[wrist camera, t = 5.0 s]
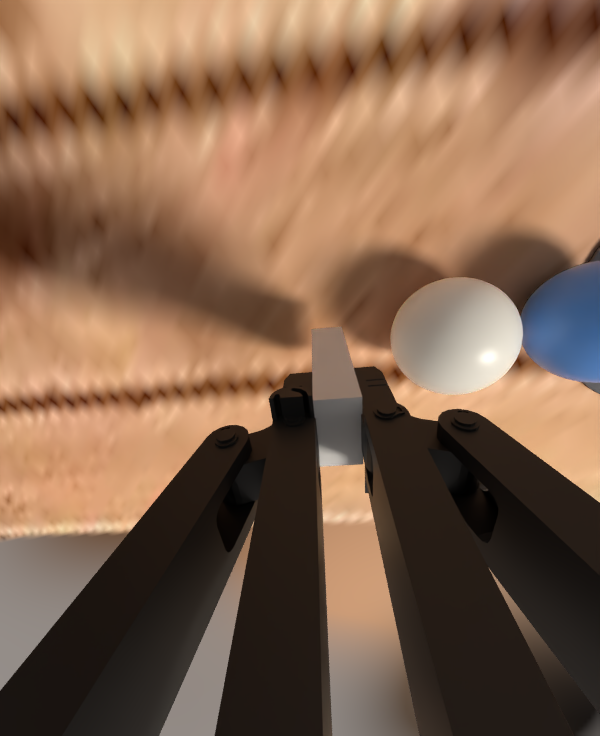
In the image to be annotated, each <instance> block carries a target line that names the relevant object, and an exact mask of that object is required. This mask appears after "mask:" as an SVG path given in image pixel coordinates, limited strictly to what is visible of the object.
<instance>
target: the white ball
mask: <svg viewBox="0 0 600 736" xmlns="http://www.w3.org/2000/svg"><path fill="white" fill-rule="evenodd" d="M522 338H523V326H522V321H521V317H520V315H519V312H518V310H517V308H516V306H515V305H514V303H513V302H512V301H511V299H510V298H509V297H508V296H507V295H506V294H505V293H504V292H503V291H501V290H500V289H499V288H497V287H495V286H494V285H492V284H490V283H487V282H485V281H482V280H479V279H475V278H468V277H452V278H445V279H441V280H437V281H435V282H432V283H429V284H427V285H426V286H424V287H422V288H420V289H419V290H417V291H416V292H415V293H413V294H412V295H411V296H410V297H409V298H408V299H407V300H406V301H405V302H404V303H403V304H402V306H401V307H400V309H399V310H398V312H397V314H396V316H395V319H394V321H393V324H392V329H391V336H390V340H391V349H392V354H393V356H394V359H395V361H396V363H397V365H398V367H399V368H400V370H401V371H402V372H403V373H404V374H405V375H406V376H407V377H408V378H409V379H410V380H411V381H412V382H414V383H415V384H417V385H418V386H420V387H422V388H424V389H426V390H429V391H432V392H435V393H440V394H447V395H460V394H467V393H472V392H475V391H478V390H481V389H483V388H486V387H488V386H490V385H491V384H493V383H495V382H496V381H497V380H499V379H500V378H501V377H502V376H503V375H505V374H506V372H507V371H508V370H509V369H510V368H511V366H512V365H513V363H514V362H515V360H516V359H517V356H518V354H519V352H520V349H521V345H522Z"/></svg>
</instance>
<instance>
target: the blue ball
mask: <svg viewBox="0 0 600 736" xmlns="http://www.w3.org/2000/svg"><path fill="white" fill-rule="evenodd" d="M520 317H521V321H522V326H523V338H522V345H523V347H524V349H525V351H526V353H527V354H528V355H529V356H530V358H531V359H532V360H533V361H534V362H535V363H537V364H538V365H539V366H540V367H542V368H543V369H545V370H547V371H548V372H550V373H552V374H554V375H557V376H560V377H563V378H565V379H570V380H574V381H579V382H591V383H600V261H594V262H589V263H584V264H581V265H577V266H575V267H572V268H570V269H567V270H565V271H562V272H561V273H559V274H557V275H555V276H553V277H552V278H550V279H549V280H547V281H546V282H545V283H543V284H542V285H541V286H540V287H539V288H538V289H537V290H536V291H535V292H534V293H533V294H532V295H531V296H530V298H529V299H528V301H527V302H526V304H525V306H524V308H523V310H522V313H521V316H520Z"/></svg>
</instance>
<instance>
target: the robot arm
mask: <svg viewBox="0 0 600 736" xmlns="http://www.w3.org/2000/svg"><path fill="white" fill-rule="evenodd" d="M269 402H270V408H271V413H272V419H273V423H272V425H271V426H269V427H268V428H266V429H263V430H261V431H258V432H254V433H251V434H248V430H247V429H245V428H244V427H242V426H238V425H229V426H225V427H221V428H219V429H217V430H215V431H213V432H212V433H211V434H210V435H209V436H208V437H207V438H206V439H205V440H204V442H203V443H202V444H201V445H200V446H199V448H198V449H197V450H196V451H195V453H194V454H193V455H192V456H191V458H190V459H189V460H188V461H187V462H186V464H185V465H184V466H183V467H182V469H181V470H180V471H179V472H178V473H177V475H176V476H175V477H174V478H173V480H172V481H171V482H170V483H169V485H168V486H167V487H166V488H165V489H164V491H163V492H162V493H161V494H160V496H159V497H158V498H157V499H156V500H155V502H154V503H153V504H152V505H151V507H150V508H149V509H148V510H147V511H146V513H145V514H144V515H143V516H142V518H141V519H140V520H139V521H138V523H137V524H136V525H135V526H134V527H133V529H132V530H131V531H130V532H129V534H128V535H127V536H126V537H125V538H124V540H123V541H122V542H121V544H120V545H119V546H118V547H117V548H116V550H115V551H114V552H113V553H112V554H111V556H110V557H109V558H108V559H107V561H106V562H105V563H104V564H103V565H102V567H101V568H100V569H99V570H98V572H97V573H96V574H95V575H94V576H93V578H92V579H91V580H90V581H89V583H88V584H87V585H86V586H85V588H84V589H83V590H82V591H81V593H80V594H79V595H78V596H77V597H76V599H75V600H74V601H73V602H72V604H71V605H70V606H69V607H68V608H67V610H66V611H65V612H64V613H63V615H62V616H61V617H60V618H59V619H58V621H57V622H56V623H55V624H54V626H53V627H52V628H51V629H50V630H49V632H48V633H47V634H46V636H45V637H44V638H43V639H42V640H41V642H40V643H39V644H38V646H37V647H36V648H35V649H34V650H33V651H32V653H31V654H30V655H29V656H28V658H27V659H26V660H25V661H24V662H23V664H22V665H21V666H20V667H19V668H18V670H17V671H16V673H14V675H13V676H12V677H11V678H10V680H9V681H8V682H7V683H6V685H5V686H4V687H3V688H2V689H1V691H0V736H159V734H160V732H161V730H162V728H163V725H164V723H165V721H166V719H167V716H168V714H169V712H170V710H171V707H172V705H173V703H174V701H175V698H176V696H177V694H178V691H179V689H180V687H181V685H182V682H183V680H184V678H185V676H186V673H187V671H188V669H189V667H190V664H191V662H192V660H193V657H194V655H195V653H196V651H197V648H198V646H199V644H200V642H201V639H202V637H203V635H204V633H205V630H206V628H207V626H208V624H209V621H210V619H211V617H212V615H213V612H214V610H215V608H216V606H217V603H218V601H219V599H220V596H221V594H222V592H223V590H224V587H225V585H226V583H227V580H228V578H229V576H230V574H231V572H232V569H233V567H234V565H235V563H236V560H237V558H238V556H239V554H240V551H241V549H242V547H243V545H244V542H245V540H246V538H247V536H248V533H249V531H250V529H251V526H252V524H253V522H254V526H253V532H252V537H251V542H250V548H249V553H248V558H247V564H246V569H245V575H244V580H243V585H242V591H241V597H240V602H239V607H238V613H237V618H236V623H235V629H234V635H233V640H232V645H231V650H230V656H229V662H228V667H227V672H226V677H225V683H224V689H223V694H222V699H221V704H220V710H219V716H218V721H217V726H216V732H215V736H332V721H331V720H332V719H331V696H330V673H329V650H328V629H327V605H326V584H325V583H326V582H325V559H324V539H323V538H324V537H323V514H322V491H321V474H320V466H338V465H356V464H363V458H364V462H365V493H369V498H370V502H371V507H372V512H373V517H374V521H375V526H376V531H377V536H378V540H379V545H380V550H381V554H382V559H383V564H384V568H385V574H386V578H387V583H388V588H389V593H390V597H391V602H392V606H393V612H394V616H395V621H396V626H397V630H398V635H399V640H400V645H401V650H402V654H403V659H404V664H405V669H406V673H407V678H408V683H409V687H410V692H411V697H412V702H413V707H414V711H415V716H416V721H417V726H418V731H419V735H420V736H574V734H573V732H572V731H571V728H570V726H569V725H568V723H567V721H566V719H565V717H564V715H563V713H562V711H561V709H560V707H559V706H558V703H557V701H556V699H555V697H554V695H553V693H552V692H551V689H550V687H549V685H548V684H547V682H546V680H545V678H544V676H543V674H542V672H541V670H540V668H539V666H538V664H537V662H536V660H535V658H534V656H533V654H532V652H531V650H530V648H529V646H528V644H527V642H526V640H525V639H524V637H523V635H522V633H521V631H520V629H519V627H518V625H517V623H516V621H515V619H514V617H513V615H512V613H511V611H510V609H509V607H508V605H507V603H506V601H505V599H504V597H503V595H502V593H501V591H500V590H499V588H498V586H497V584H496V582H495V580H494V578H493V576H492V574H491V572H490V570H491V571H492V573H493V574H494V575H495V577H496V578H497V579H498V581H499V582H500V583H501V584H502V586H503V587H504V588H505V590H506V591H507V592H508V594H509V595H510V596H511V598H512V599H513V600H514V602H515V603H516V604H517V606H518V607H519V608H520V610H521V611H522V612H523V613H524V615H525V616H526V617H527V619H528V620H529V621H530V623H531V624H532V625H533V627H534V628H535V629H536V631H537V632H538V633H539V635H540V636H541V637H542V639H543V640H544V641H545V643H546V644H547V645H548V647H549V648H550V649H551V651H552V652H553V653H554V654H555V656H556V657H557V658H558V660H559V661H560V663H561V664H562V665H563V666H564V668H565V669H566V670H567V672H568V673H569V674H570V676H571V677H572V678H573V680H574V681H575V682H576V684H577V685H578V686H579V687H580V689H581V690H582V692H583V693H584V694H585V696H586V697H587V698H588V700H589V701H590V702H591V703H592V705H593V706H594V707H595V709H596V710H597V711H598V713H599V714H600V503H599V502H598V501H597V500H595V499H594V498H593V497H591V496H590V495H589V494H587V493H586V492H585V491H583V490H582V489H581V488H579V487H578V486H576V485H575V484H574V483H572V482H571V481H570V480H568V479H567V478H566V477H564V476H563V475H562V474H560V473H559V472H558V471H556V470H555V469H554V468H552V467H551V466H550V465H548V464H547V463H546V462H544V461H543V460H542V459H540V458H539V457H537V456H536V455H535V454H533V453H532V452H531V451H529V450H528V449H527V448H525V447H524V446H523V445H521V444H520V443H519V442H517V441H516V440H515V439H513V438H512V437H511V436H509V435H508V434H507V433H505V432H504V431H502V430H501V429H500V428H498V427H497V426H496V425H494V424H493V423H492V422H490V421H489V420H488V419H486V418H485V417H483V416H481V415H479V414H478V413H475V412H472V411H469V410H462V409H452V410H447V411H445V412H442V413H441V415H440V416H439V418H438V421H432V420H425V419H419V418H415V417H412V416H411V415H410V413H409V411H408V410H407V409H406V408H405V407H404V406H402V405H400V404H398V403H397V402H396V400H395V398H394V396H393V394H392V392H391V390H390V388H389V386H388V384H387V381H386V380H385V377H384V375H383V373H382V372H381V371H380V370H379V369H377V368H376V367H374V366H373V367H361V368H354V367H353V364H352V361H351V357H350V354H349V350H348V347H347V344H346V340H345V337H344V333H343V330H342V327H331V328H320V329H312V372H309V373H296V374H290V375H289V376H288V377H287V378H286V379H285V380H284V386H283V388H281V389H279V390H277V391H275V392H274V393H272V394H271V396H270V398H269ZM488 567H489V568H488ZM489 569H490V570H489Z"/></svg>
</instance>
